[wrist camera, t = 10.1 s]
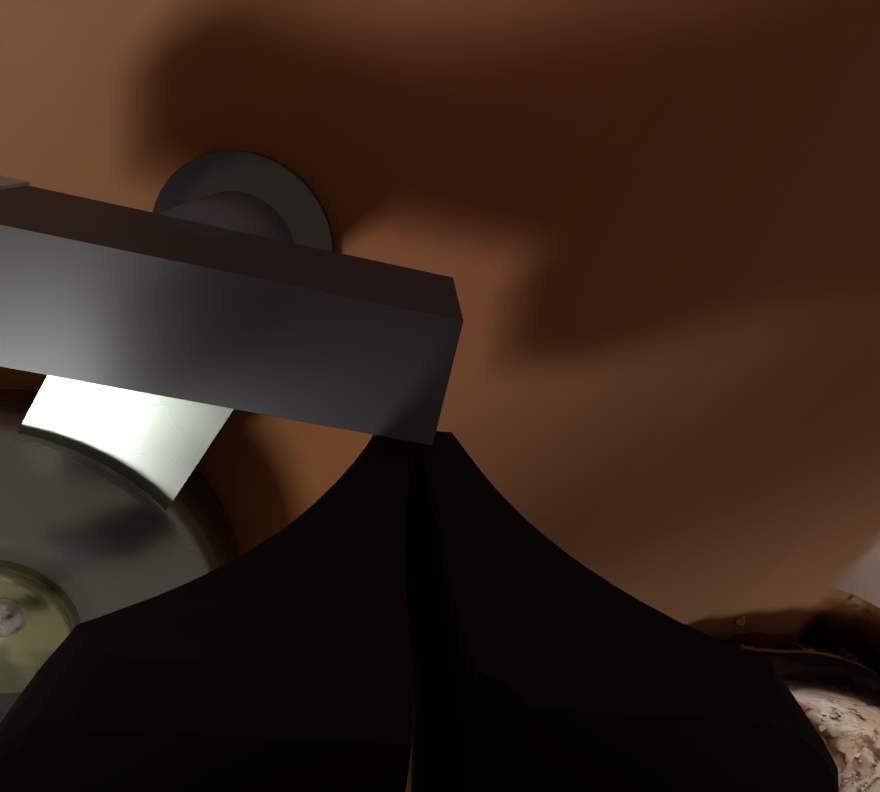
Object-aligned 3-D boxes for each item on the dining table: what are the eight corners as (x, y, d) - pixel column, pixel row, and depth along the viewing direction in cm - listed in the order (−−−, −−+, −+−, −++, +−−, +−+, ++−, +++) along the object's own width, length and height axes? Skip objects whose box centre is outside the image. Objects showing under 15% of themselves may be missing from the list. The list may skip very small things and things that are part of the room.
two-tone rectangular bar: (448, 238, 12) (467, 306, 8) (424, 341, 13) (429, 460, 8) (16, 141, 11) (-262, 152, 7) (22, 259, 12) (-223, 342, 7)
